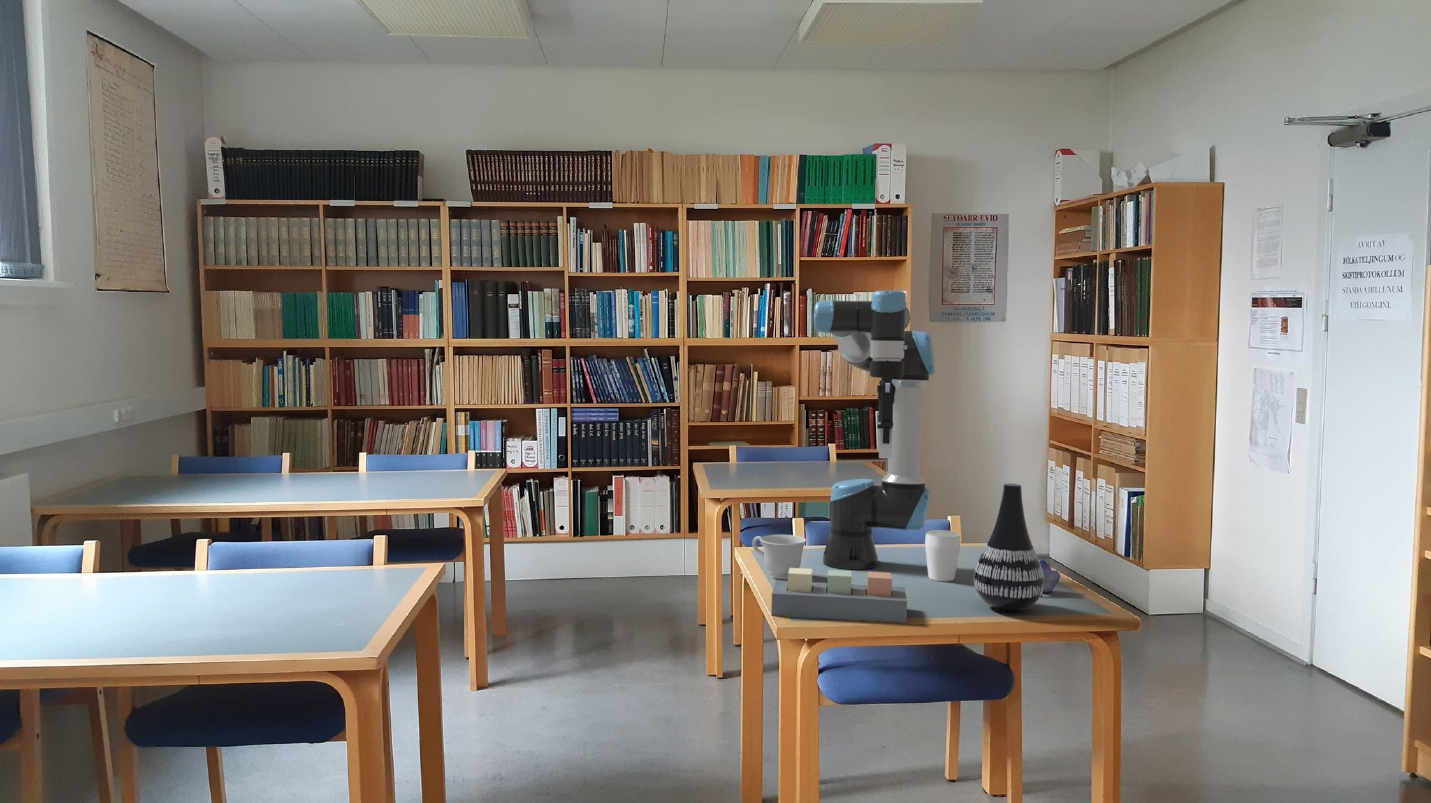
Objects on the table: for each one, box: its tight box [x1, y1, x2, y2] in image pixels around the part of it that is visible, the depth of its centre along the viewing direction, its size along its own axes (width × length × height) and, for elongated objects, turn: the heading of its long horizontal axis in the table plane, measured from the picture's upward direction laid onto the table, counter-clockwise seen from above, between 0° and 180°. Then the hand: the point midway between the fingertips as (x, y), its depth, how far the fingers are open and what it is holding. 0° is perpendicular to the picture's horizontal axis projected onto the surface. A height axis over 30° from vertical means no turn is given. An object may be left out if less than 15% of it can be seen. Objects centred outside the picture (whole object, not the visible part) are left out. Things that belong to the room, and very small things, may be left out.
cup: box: [924, 529, 961, 582], centre depth 258 cm, size 9×9×12 cm
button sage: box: [827, 569, 852, 594], centre depth 225 cm, size 5×5×6 cm
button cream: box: [787, 567, 813, 592], centre depth 226 cm, size 5×5×6 cm
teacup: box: [752, 534, 807, 581], centre depth 257 cm, size 12×15×10 cm
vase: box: [973, 482, 1044, 614], centre depth 229 cm, size 16×16×30 cm
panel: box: [770, 579, 908, 624], centre depth 225 cm, size 30×12×5 cm, turn 82°
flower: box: [1039, 558, 1061, 598], centre depth 245 cm, size 9×9×10 cm
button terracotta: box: [866, 571, 893, 597], centre depth 224 cm, size 5×5×6 cm
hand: (884, 454), depth 222 cm, fingers open, 12 cm apart
